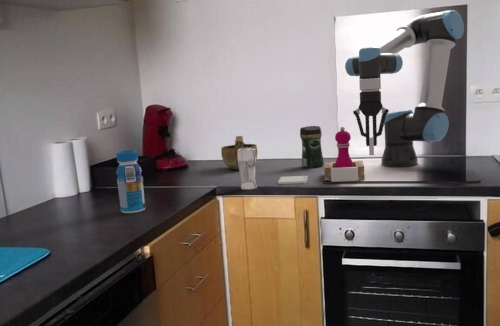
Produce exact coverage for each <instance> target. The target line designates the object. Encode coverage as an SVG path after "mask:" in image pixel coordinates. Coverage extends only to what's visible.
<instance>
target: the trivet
mask: <svg viewBox="0 0 500 326" xmlns="http://www.w3.org/2000/svg"><path fill="white" fill-rule="evenodd" d="M308 179H309V176H308V175H294V176H293V175H292V176H280V177H279V179H278V182H277V185H292V184H297V185H298V184H307V182H308Z"/></svg>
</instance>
